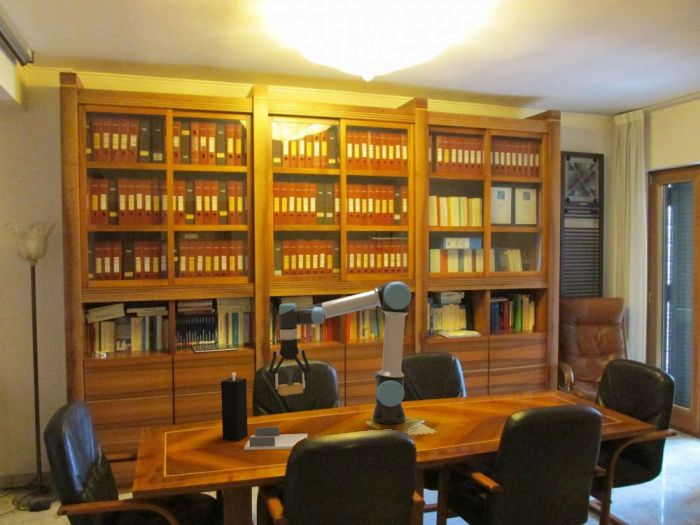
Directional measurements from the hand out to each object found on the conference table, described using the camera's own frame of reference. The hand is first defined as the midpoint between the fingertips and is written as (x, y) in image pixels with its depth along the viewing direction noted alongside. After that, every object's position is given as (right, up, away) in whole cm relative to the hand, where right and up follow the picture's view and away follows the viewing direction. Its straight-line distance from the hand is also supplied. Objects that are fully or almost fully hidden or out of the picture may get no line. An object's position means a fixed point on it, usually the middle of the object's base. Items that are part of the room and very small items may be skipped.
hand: (290, 388), depth 241 cm
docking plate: (-4, -19, -16) cm, 25 cm away
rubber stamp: (0, -2, 0) cm, 2 cm away
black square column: (-23, -20, -8) cm, 31 cm away
